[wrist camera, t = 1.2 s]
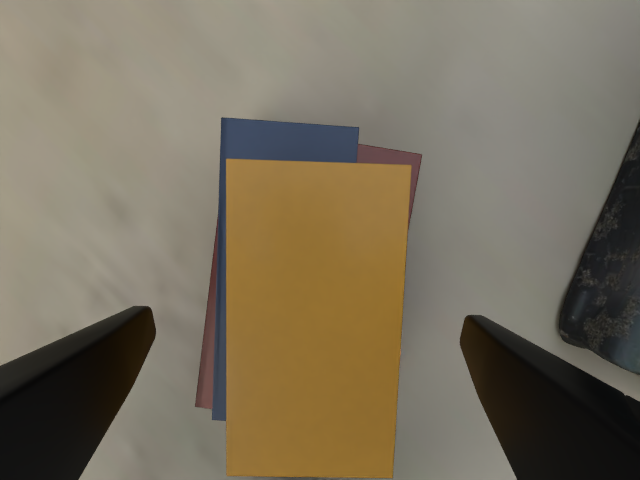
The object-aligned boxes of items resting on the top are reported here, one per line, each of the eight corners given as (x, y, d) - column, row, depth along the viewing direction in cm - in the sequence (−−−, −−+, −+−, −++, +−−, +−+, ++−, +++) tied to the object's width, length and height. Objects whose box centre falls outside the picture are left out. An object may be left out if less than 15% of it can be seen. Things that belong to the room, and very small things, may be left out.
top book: (378, 428, 16) (392, 478, 13) (242, 426, 16) (226, 476, 13) (392, 173, 15) (412, 164, 12) (243, 168, 15) (225, 158, 12)
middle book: (332, 392, 19) (336, 426, 16) (228, 386, 19) (211, 420, 16) (351, 140, 17) (359, 127, 14) (237, 132, 17) (221, 117, 14)
